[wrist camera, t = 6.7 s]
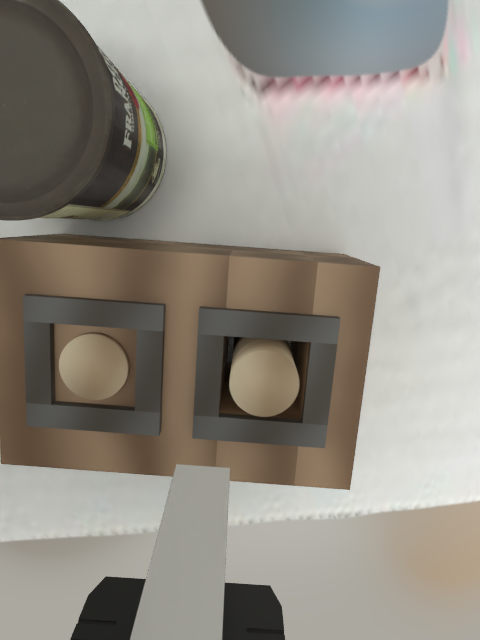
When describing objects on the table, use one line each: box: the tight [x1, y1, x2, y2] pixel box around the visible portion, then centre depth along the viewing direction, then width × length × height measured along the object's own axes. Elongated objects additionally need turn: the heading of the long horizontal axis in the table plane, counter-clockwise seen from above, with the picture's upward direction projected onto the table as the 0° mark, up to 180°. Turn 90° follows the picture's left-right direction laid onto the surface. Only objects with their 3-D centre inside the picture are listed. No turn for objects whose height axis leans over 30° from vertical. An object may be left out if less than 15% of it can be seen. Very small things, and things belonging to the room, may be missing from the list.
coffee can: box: [0, 0, 166, 220], centre depth 27 cm, size 10×10×14 cm
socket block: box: [0, 234, 380, 490], centre depth 32 cm, size 22×14×11 cm, turn 86°
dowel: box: [229, 337, 299, 417], centre depth 30 cm, size 4×4×9 cm
